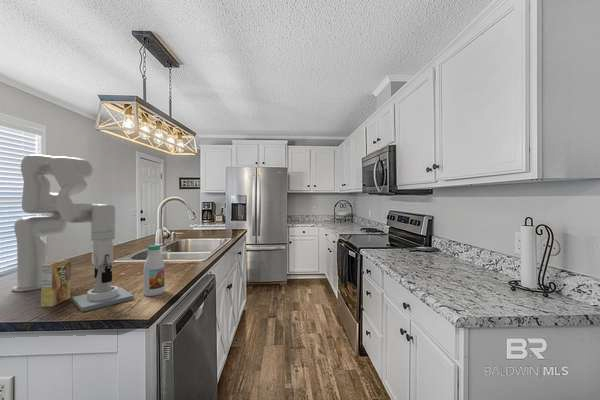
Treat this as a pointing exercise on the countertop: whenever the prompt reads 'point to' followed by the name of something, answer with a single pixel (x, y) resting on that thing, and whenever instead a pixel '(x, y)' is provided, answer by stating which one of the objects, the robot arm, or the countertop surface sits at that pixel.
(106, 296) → the collar plate
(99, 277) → the grey ball-topped peg
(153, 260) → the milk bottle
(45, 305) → the candy box
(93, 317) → the countertop surface
